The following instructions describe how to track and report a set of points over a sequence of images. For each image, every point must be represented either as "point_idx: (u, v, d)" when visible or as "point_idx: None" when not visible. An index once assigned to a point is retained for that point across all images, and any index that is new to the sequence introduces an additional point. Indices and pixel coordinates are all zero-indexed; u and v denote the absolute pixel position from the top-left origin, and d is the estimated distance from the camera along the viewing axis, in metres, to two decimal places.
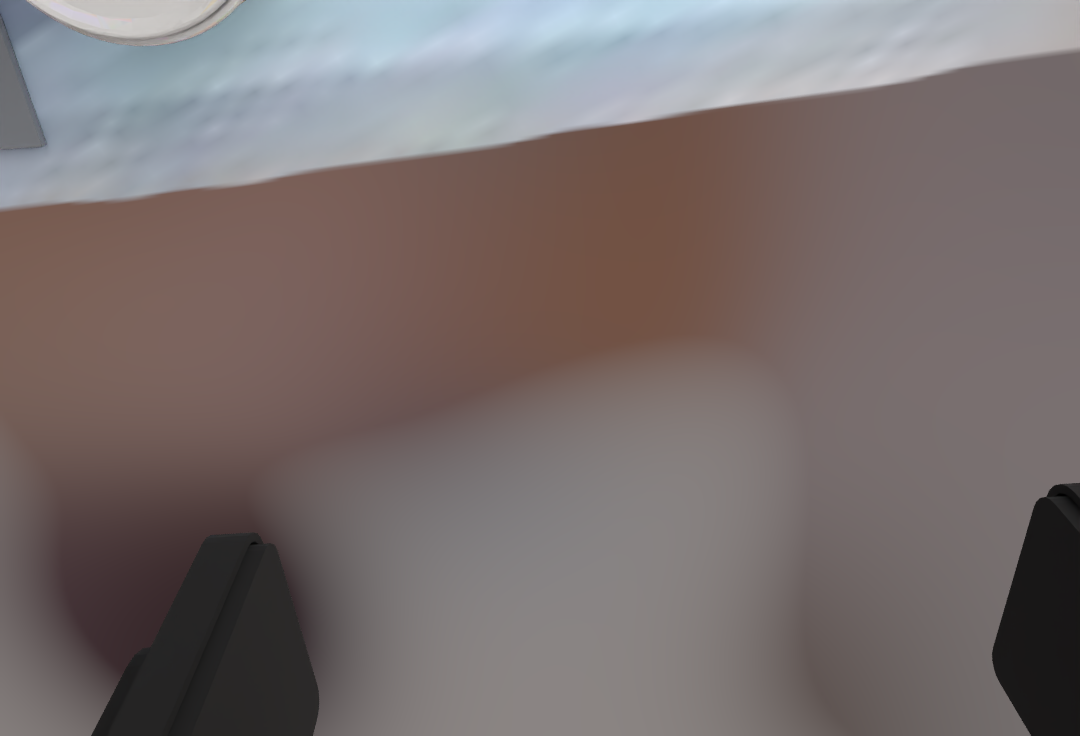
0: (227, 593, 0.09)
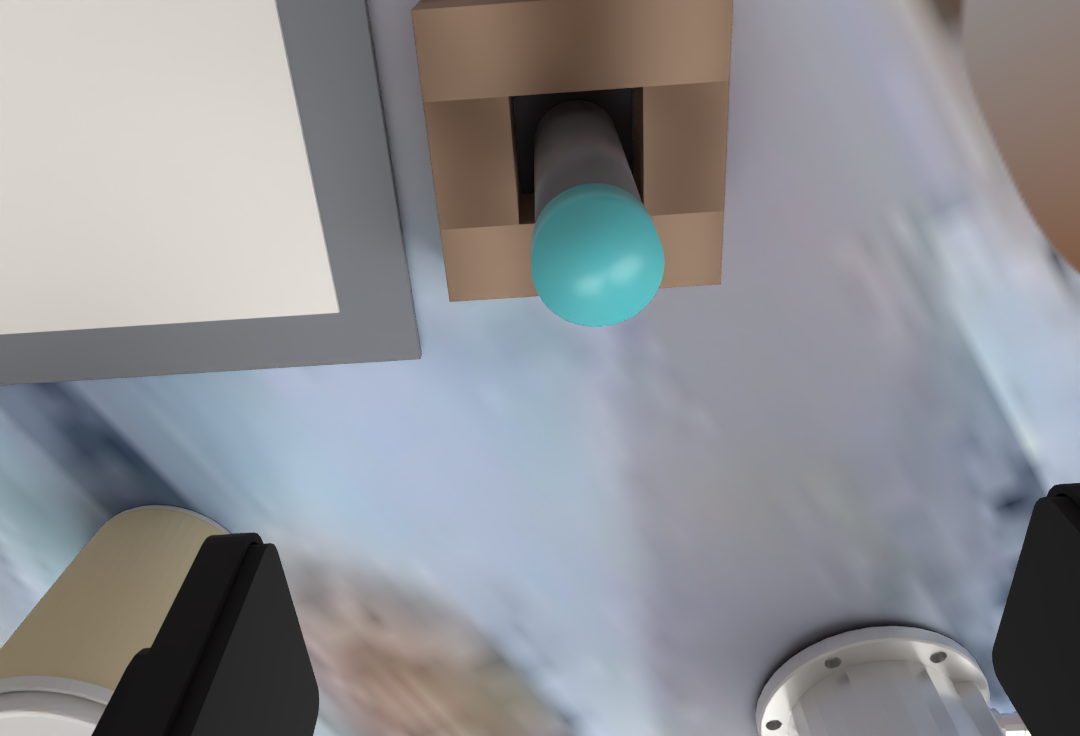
0: (227, 593, 0.09)
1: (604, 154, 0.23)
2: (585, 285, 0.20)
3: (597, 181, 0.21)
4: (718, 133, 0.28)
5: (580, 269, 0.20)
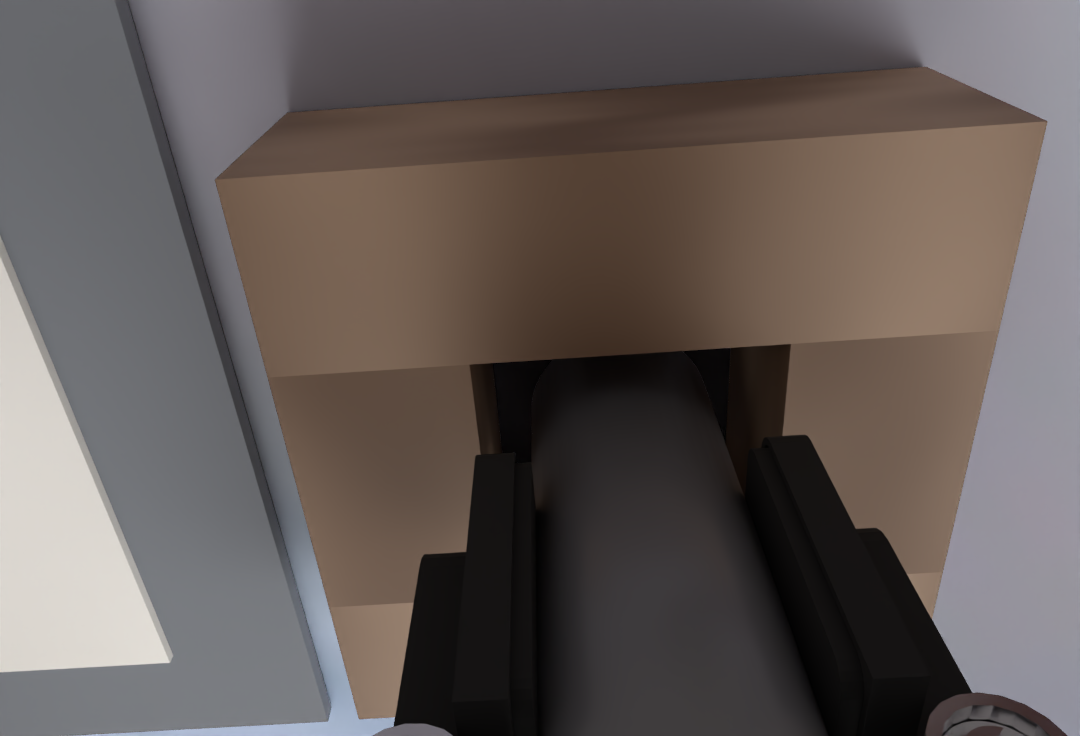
0: (514, 499, 0.10)
1: (744, 675, 0.08)
2: None
3: None
4: (955, 434, 0.12)
5: None
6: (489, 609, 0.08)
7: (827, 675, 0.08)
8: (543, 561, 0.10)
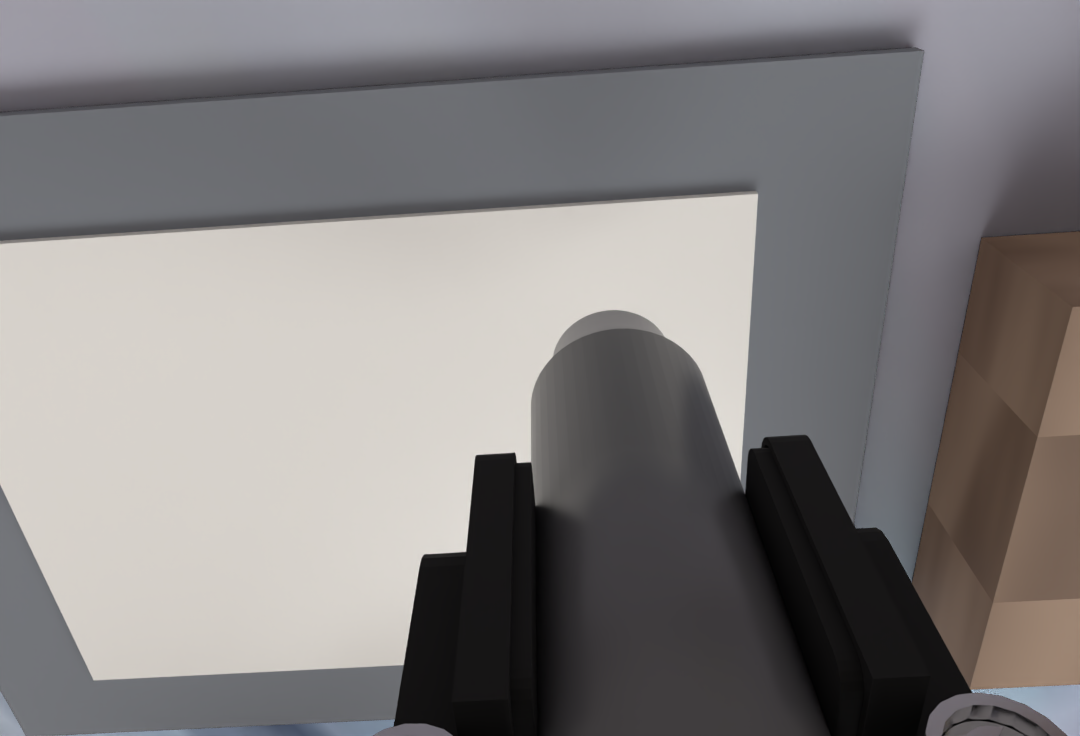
0: (514, 500, 0.10)
1: (745, 672, 0.08)
2: None
3: None
4: None
5: None
6: (489, 609, 0.08)
7: (827, 675, 0.08)
8: (543, 558, 0.10)
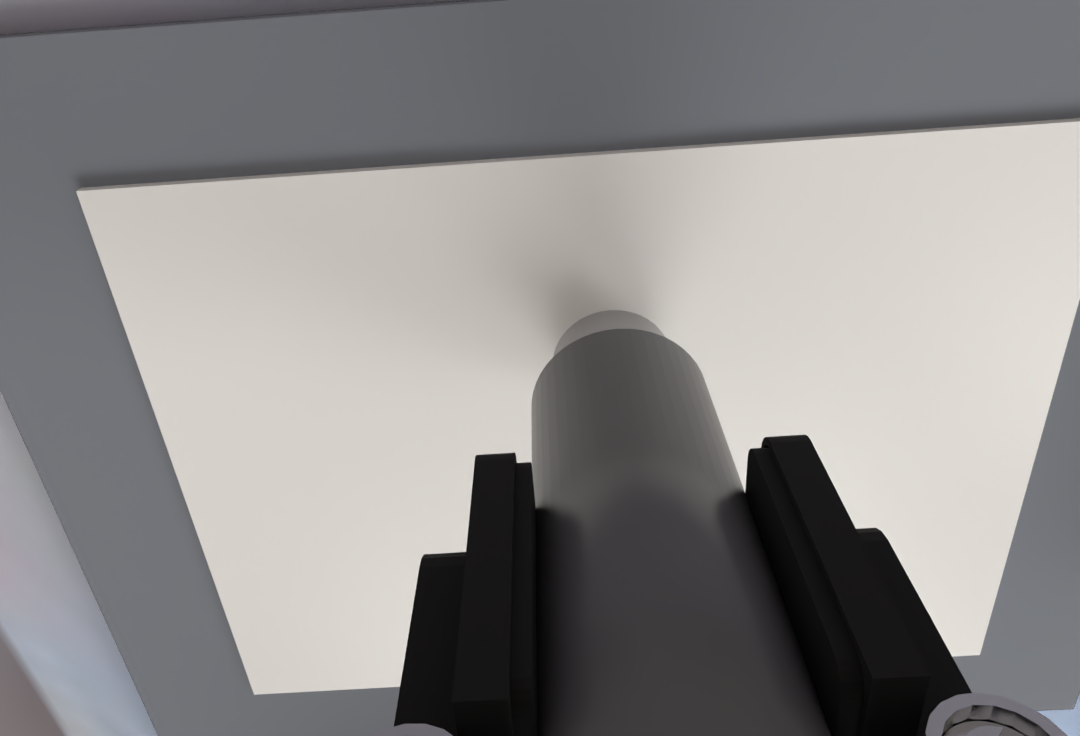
0: (514, 499, 0.10)
1: (746, 672, 0.08)
2: None
3: None
4: None
5: None
6: (489, 610, 0.08)
7: (827, 675, 0.08)
8: (543, 558, 0.10)
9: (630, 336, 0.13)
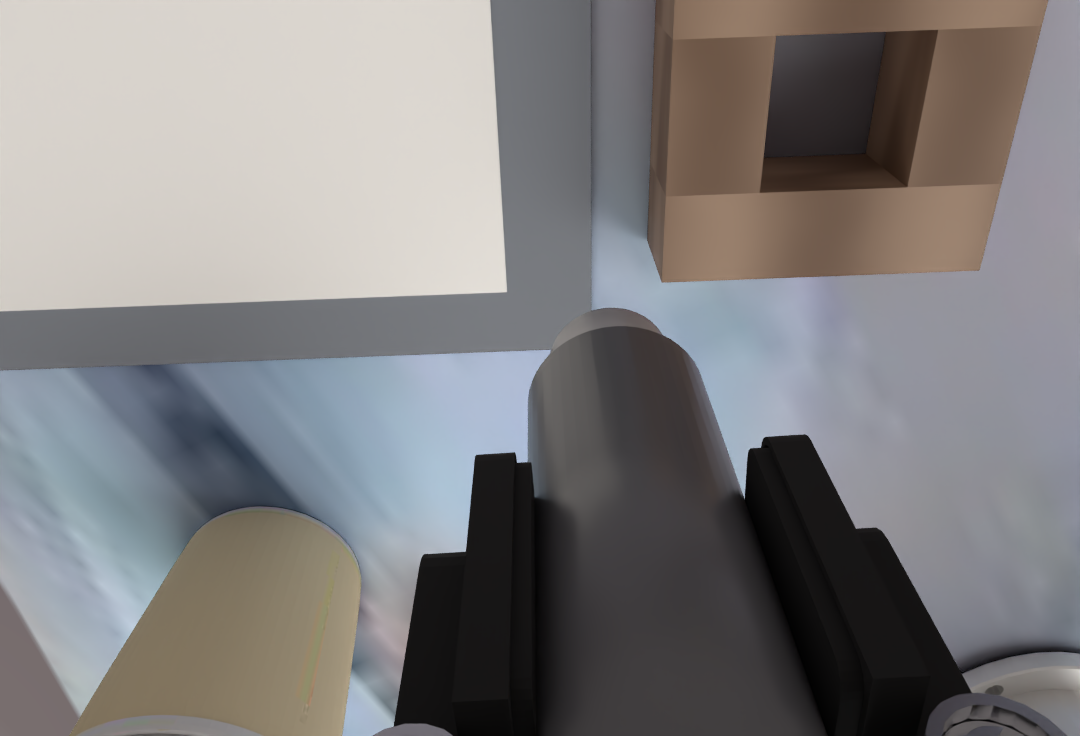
0: (514, 500, 0.10)
1: (741, 669, 0.08)
2: None
3: None
4: (1015, 90, 0.23)
5: None
6: (489, 610, 0.08)
7: (827, 675, 0.08)
8: (539, 556, 0.10)
9: (627, 334, 0.13)
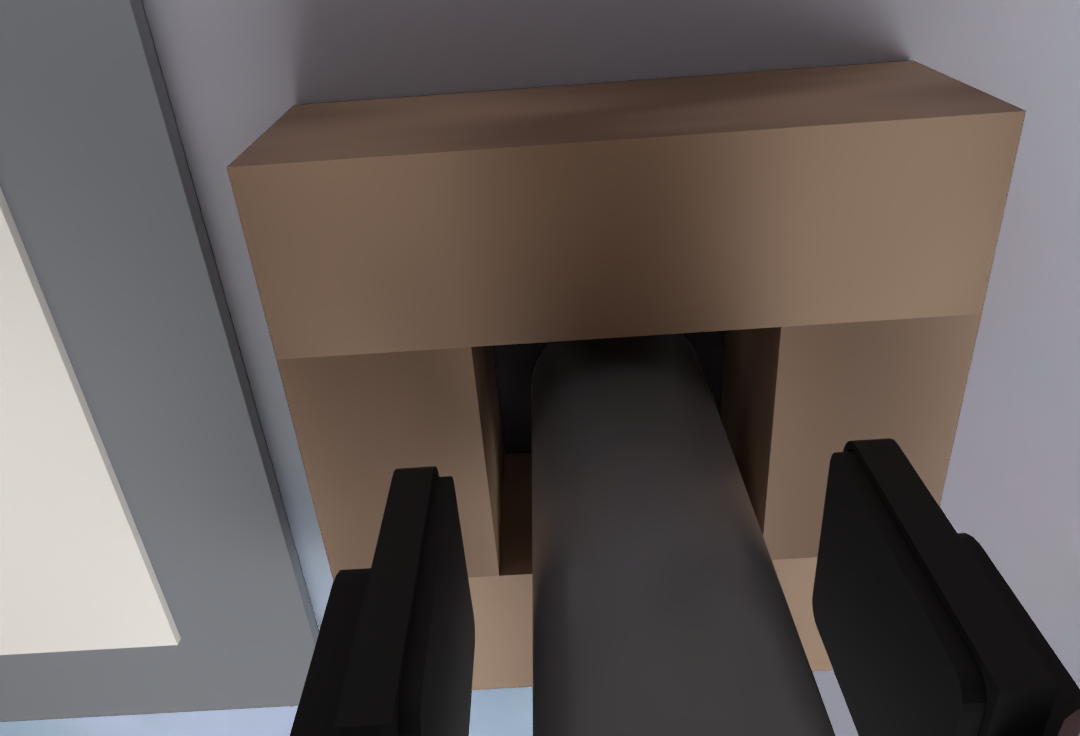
0: (427, 515, 0.10)
1: (735, 623, 0.08)
2: None
3: None
4: (940, 415, 0.13)
5: None
6: (386, 631, 0.08)
7: (942, 686, 0.08)
8: (543, 526, 0.10)
9: None
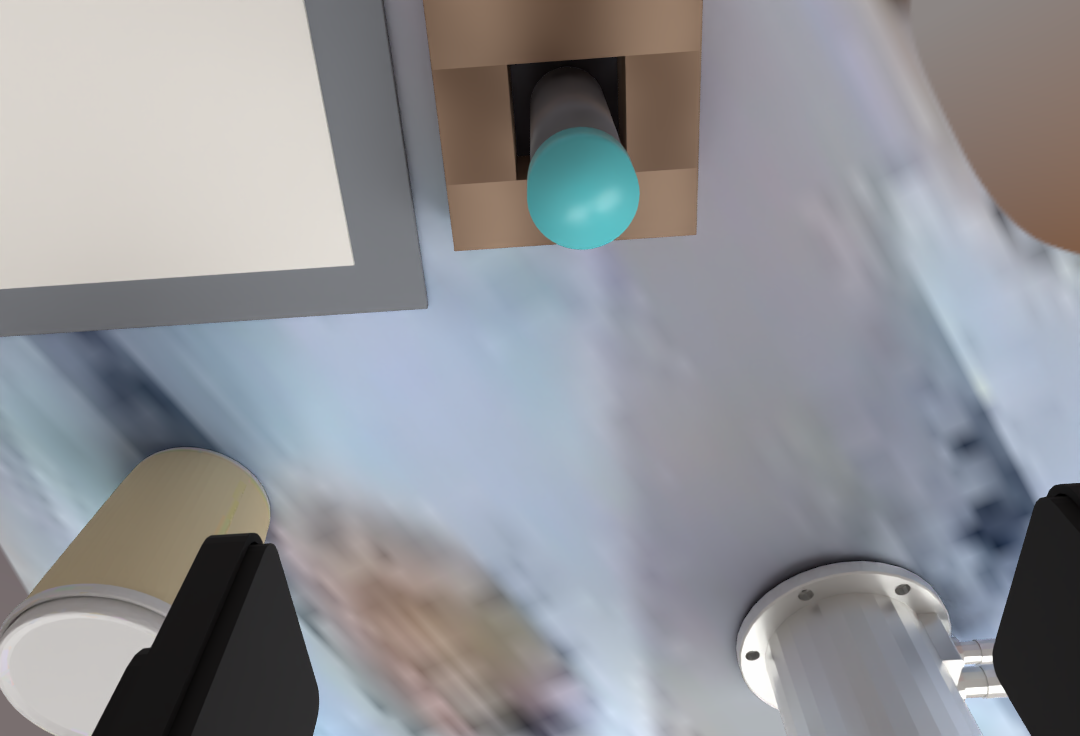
0: (227, 593, 0.09)
1: (590, 107, 0.27)
2: (573, 213, 0.24)
3: (583, 126, 0.25)
4: (692, 97, 0.32)
5: (568, 198, 0.24)
6: None
7: None
8: (534, 115, 0.30)
9: (570, 67, 0.33)
